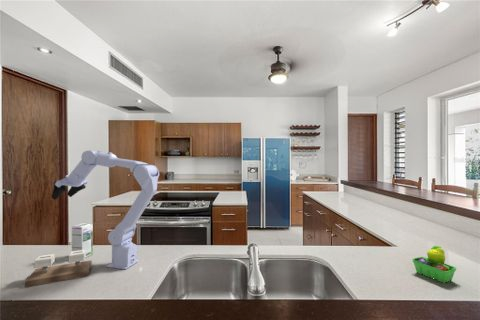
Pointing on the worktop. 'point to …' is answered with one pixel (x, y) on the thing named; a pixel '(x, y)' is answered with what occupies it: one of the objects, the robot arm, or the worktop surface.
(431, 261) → the fruit basket
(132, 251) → the robot arm
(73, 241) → the syrup box
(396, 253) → the worktop surface
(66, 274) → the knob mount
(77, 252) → the white square block
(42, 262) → the knob outer
